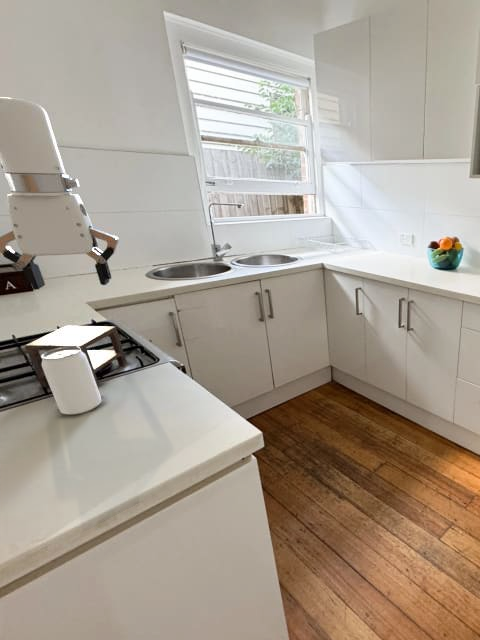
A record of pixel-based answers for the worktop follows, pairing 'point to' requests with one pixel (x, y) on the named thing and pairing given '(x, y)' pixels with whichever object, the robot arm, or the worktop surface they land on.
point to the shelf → (78, 338)
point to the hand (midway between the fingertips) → (73, 285)
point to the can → (71, 380)
